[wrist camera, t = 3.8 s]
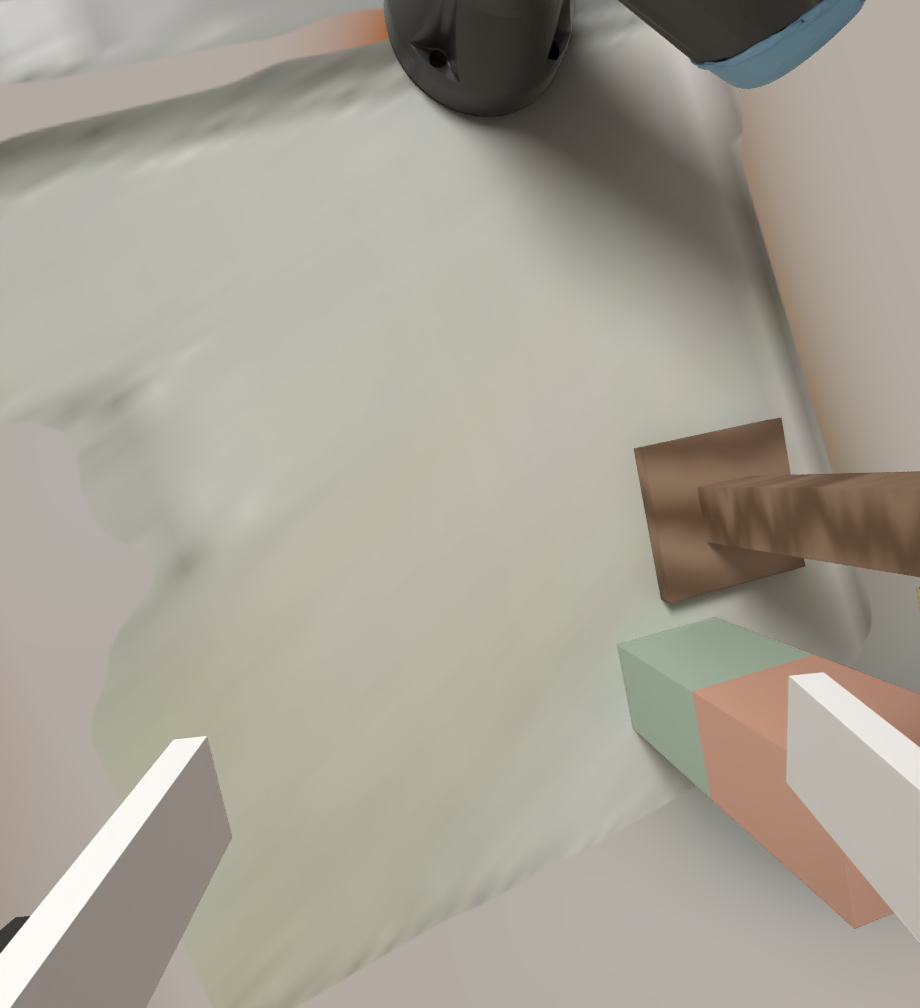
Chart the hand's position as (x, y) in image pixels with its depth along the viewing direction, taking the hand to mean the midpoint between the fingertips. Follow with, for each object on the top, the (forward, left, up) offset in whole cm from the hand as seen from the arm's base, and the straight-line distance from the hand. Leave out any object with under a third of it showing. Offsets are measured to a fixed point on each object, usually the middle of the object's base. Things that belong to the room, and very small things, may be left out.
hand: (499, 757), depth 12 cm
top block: (+16, +22, -21) cm, 35 cm away
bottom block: (+16, +22, -32) cm, 42 cm away
